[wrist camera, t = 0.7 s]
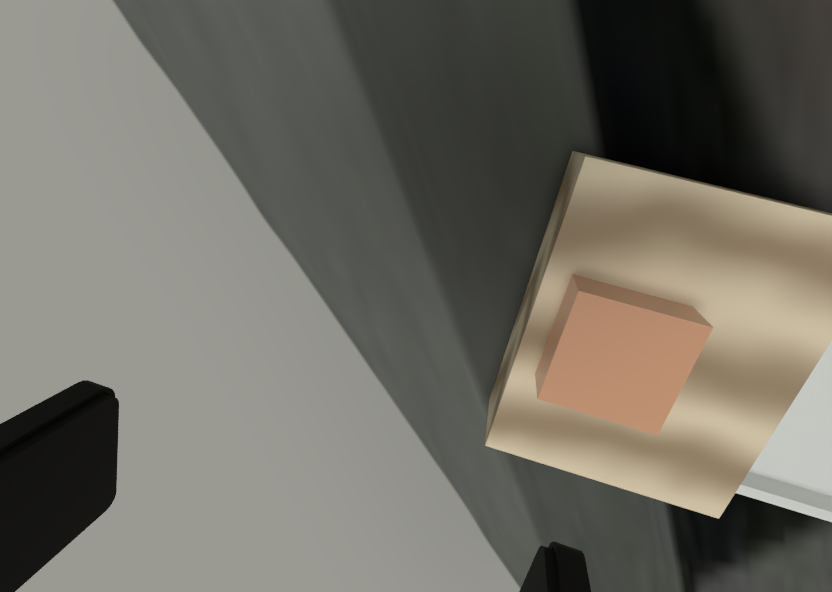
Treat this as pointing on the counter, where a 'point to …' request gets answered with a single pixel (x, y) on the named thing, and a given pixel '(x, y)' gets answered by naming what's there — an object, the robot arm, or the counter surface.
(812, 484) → the box
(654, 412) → the terracotta tile
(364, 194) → the counter surface
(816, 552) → the counter surface
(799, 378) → the birch board
